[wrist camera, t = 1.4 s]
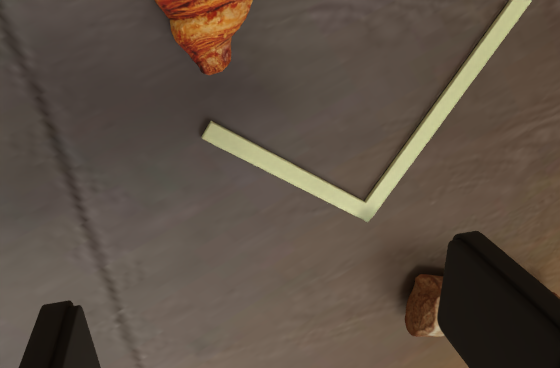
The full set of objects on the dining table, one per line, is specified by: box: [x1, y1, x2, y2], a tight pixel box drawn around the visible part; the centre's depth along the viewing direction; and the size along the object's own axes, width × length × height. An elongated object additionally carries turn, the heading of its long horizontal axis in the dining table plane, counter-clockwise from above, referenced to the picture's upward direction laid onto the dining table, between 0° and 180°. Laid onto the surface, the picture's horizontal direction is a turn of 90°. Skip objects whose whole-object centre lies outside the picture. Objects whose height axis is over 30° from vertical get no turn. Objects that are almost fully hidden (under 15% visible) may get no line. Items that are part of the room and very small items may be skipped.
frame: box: [202, 0, 532, 222], centre depth 34 cm, size 17×28×1 cm, turn 148°
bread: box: [405, 274, 560, 337], centre depth 46 cm, size 6×19×6 cm, turn 74°
